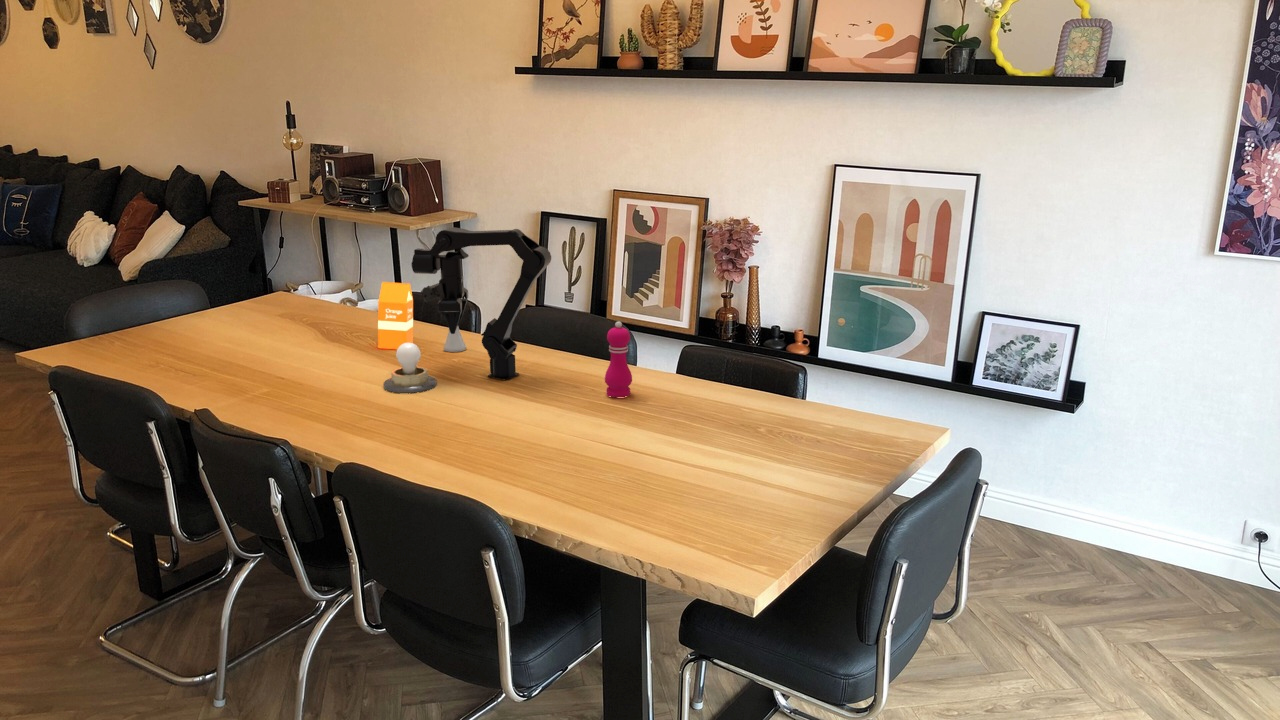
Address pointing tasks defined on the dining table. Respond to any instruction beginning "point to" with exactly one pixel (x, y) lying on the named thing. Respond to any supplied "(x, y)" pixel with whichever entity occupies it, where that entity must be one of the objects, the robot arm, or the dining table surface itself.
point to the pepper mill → (618, 362)
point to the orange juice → (395, 315)
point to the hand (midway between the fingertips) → (455, 329)
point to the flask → (454, 342)
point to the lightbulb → (408, 357)
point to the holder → (410, 381)
